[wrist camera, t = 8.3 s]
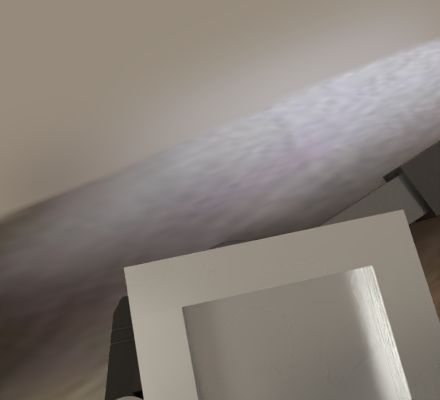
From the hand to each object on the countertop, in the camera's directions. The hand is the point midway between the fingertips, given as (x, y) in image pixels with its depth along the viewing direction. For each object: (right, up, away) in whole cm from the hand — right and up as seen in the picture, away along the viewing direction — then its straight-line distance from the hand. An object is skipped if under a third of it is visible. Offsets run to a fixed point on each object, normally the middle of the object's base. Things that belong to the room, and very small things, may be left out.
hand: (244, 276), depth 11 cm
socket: (0, -3, +4) cm, 5 cm away
